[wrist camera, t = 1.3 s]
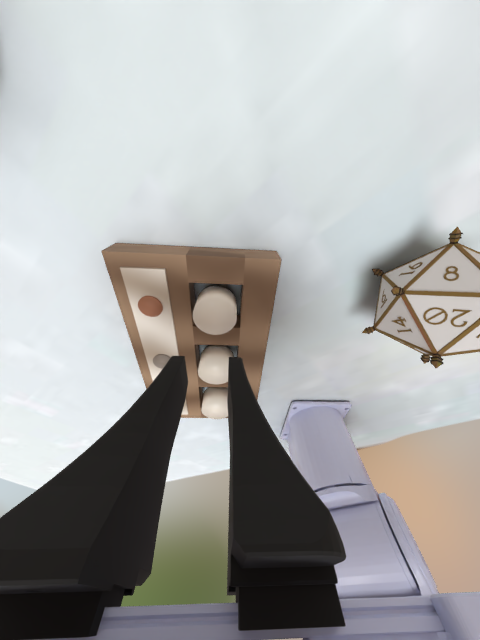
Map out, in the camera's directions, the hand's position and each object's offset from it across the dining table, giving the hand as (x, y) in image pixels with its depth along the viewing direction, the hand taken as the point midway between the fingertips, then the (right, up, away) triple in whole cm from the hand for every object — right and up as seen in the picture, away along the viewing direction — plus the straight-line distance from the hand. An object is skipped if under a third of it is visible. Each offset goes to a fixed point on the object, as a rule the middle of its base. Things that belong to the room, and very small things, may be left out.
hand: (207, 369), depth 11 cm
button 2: (-1, -6, +12) cm, 14 cm away
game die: (+15, +6, +7) cm, 18 cm away
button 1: (0, +4, +6) cm, 7 cm away
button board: (-2, 0, +10) cm, 10 cm away
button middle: (0, -1, +9) cm, 9 cm away
